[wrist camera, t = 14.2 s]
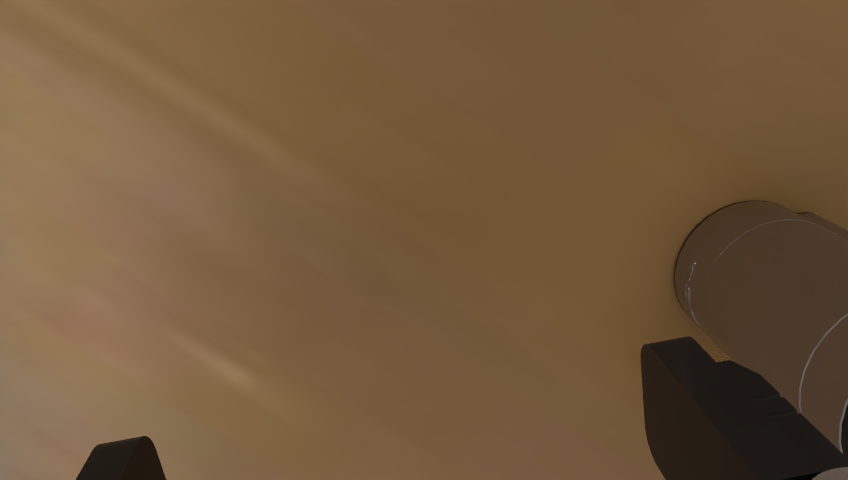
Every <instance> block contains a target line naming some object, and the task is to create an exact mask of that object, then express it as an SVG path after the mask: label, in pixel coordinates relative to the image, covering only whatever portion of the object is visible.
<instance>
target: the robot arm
mask: <svg viewBox="0 0 848 480" xmlns="http://www.w3.org/2000/svg"><path fill="white" fill-rule="evenodd" d="M675 287H676V293H677V297H678V299H679V301H680V304H681V306H682V308H683V309H684V310H685V312H686V313H687V314H688V316H689V317H690V318H691V319H692V320H693V321H694V322H695V323H696V324H697V325H698V326H699V327H700V328H701V329H702V330H703V331H704V332H705V333H706V334H707V335H708V336H709V337H710V338H711V339H712V340H713V341H714V342H715V343H716V344H717V345H718V346H719V347H720V348H721V349H722V350H723V351H724V352H725V353H726V354H727V355H728V356H729V357H730V358H731V359H732V360H733V361H734V362H733V361H731V360H728V361H723V362H718V363H716V362H715V361H714V360H713V359H712V358H711V357H710V356H709V354H708V353H707V352H706V351H705V350H704V349H703V348H702V347H701V346H700V345H699V344H698V343H697V342H696V341H695V340H694V339H693V338H691V337H683V338H677V339H672V340H666V341H661V342H656V343H650V344H645V345H643V347H642V350H641V370H642V386H643V402H644V417H645V429H646V435H647V440H648V444H649V447H650V450H651V453H652V456H653V458H654V460H655V463H656V464H657V466H658V468H659V469H660V471H661V473H662V474H663V476H664V477H665V479H666V480H848V231H847V230H845V229H843V228H841V227H839V226H837V225H835V224H833V223H831V222H829V221H827V220H825V219H823V218H821V217H819V216H817V215H815V214H813V213H803V214H795V213H793V212H792V211H790V210H788V209H786V208H784V207H782V206H780V205H777V204H773V203H769V202H765V201H748V202H742V203H736V204H734V205H731V206H728V207H726V208H723V209H721V210H719V211H718V212H716V213H714V214H713V215H711V216H709V217H708V218H707V219H706V220H704V221H703V222H702V223H701V224H700V225H699V226H698V227H697V228H696V229H695V230H694V231H693V233H692V234H691V235H690V236H689V238H688V239H687V240H686V242H685V244H684V246H683V248H682V250H681V252H680V254H679V257H678V261H677V264H676V268H675ZM76 480H166V478H165V475H164V472H163V469H162V466H161V463H160V460H159V457H158V454H157V451H156V449H155V446H154V444H153V442H152V441H151V439H150V438H149V437H147V436H142V437H136V438H131V439H125V440H120V441H115V442H109V443H104V444H99V445H97V446H96V447H95V448H94V449H93V450H92V452H91V454H90V456H89V457H88V459H87V461H86V463H85V464H84V466H83V468H82V470H81V471H80V473H79V475H78V477H77V478H76Z"/></svg>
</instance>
